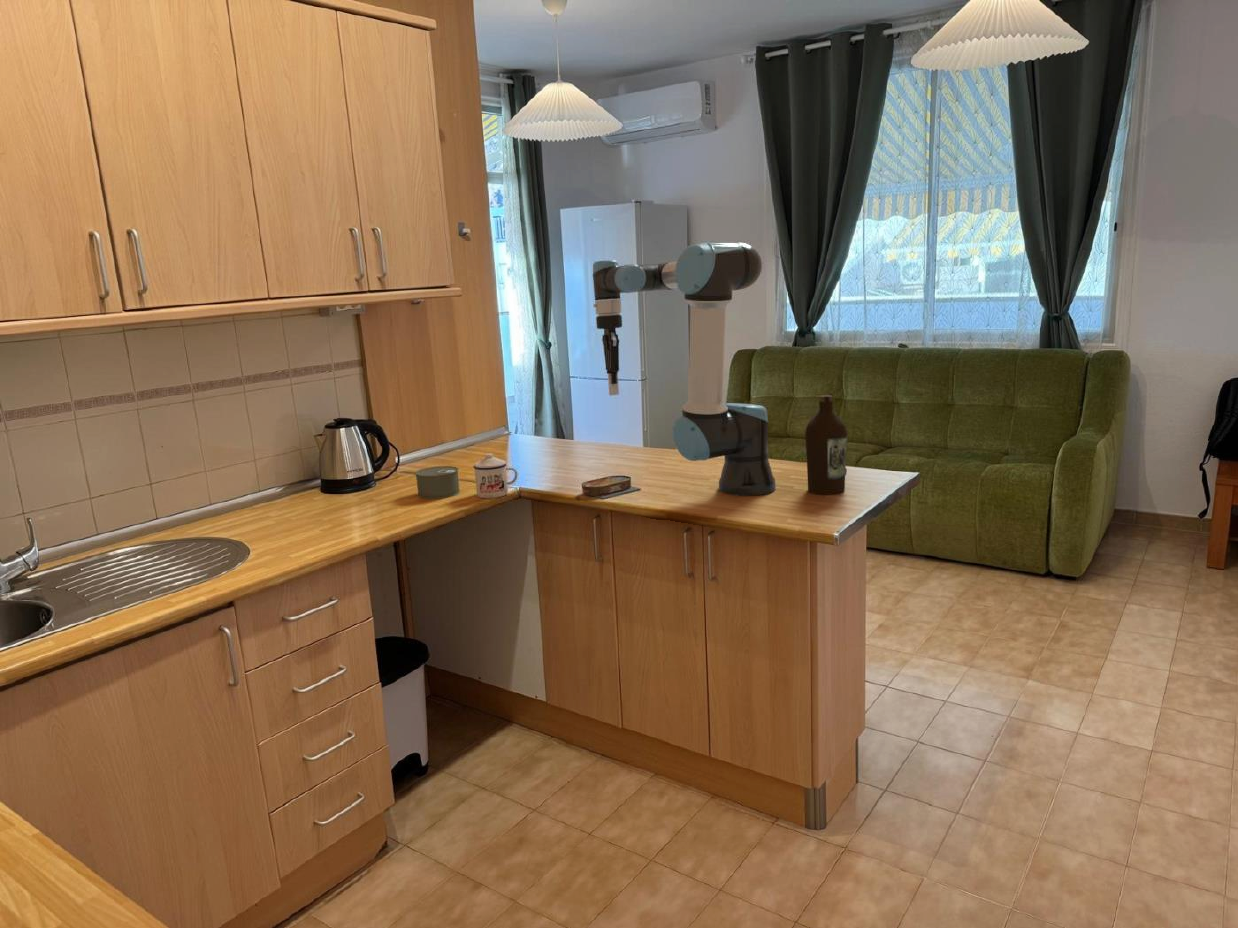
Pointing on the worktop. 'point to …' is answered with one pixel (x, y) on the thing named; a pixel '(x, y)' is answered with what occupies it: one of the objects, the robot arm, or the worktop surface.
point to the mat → (617, 493)
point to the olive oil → (826, 450)
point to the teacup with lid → (492, 477)
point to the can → (437, 482)
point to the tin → (606, 485)
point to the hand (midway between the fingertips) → (614, 394)
